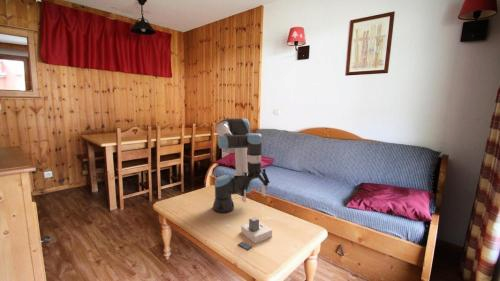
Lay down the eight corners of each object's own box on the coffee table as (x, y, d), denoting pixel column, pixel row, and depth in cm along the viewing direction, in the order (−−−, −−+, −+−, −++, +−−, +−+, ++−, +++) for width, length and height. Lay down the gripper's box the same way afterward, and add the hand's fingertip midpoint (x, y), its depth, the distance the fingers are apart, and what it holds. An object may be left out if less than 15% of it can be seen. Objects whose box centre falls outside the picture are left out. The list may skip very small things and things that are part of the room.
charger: (249, 235, 141) (249, 218, 139) (254, 232, 144) (254, 216, 142) (253, 238, 138) (253, 221, 136) (258, 235, 140) (259, 219, 139)
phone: (237, 246, 132) (237, 244, 131) (242, 243, 134) (242, 241, 134) (247, 251, 127) (247, 249, 127) (251, 248, 130) (251, 246, 130)
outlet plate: (241, 231, 145) (241, 225, 144) (257, 225, 151) (257, 219, 150) (255, 243, 133) (255, 236, 132) (271, 236, 140) (272, 229, 139)
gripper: (238, 167, 123) (238, 206, 127) (276, 160, 137) (275, 195, 141) (231, 163, 129) (231, 201, 133) (267, 157, 143) (267, 191, 147)
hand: (253, 198), depth 137 cm, fingers open, 13 cm apart
